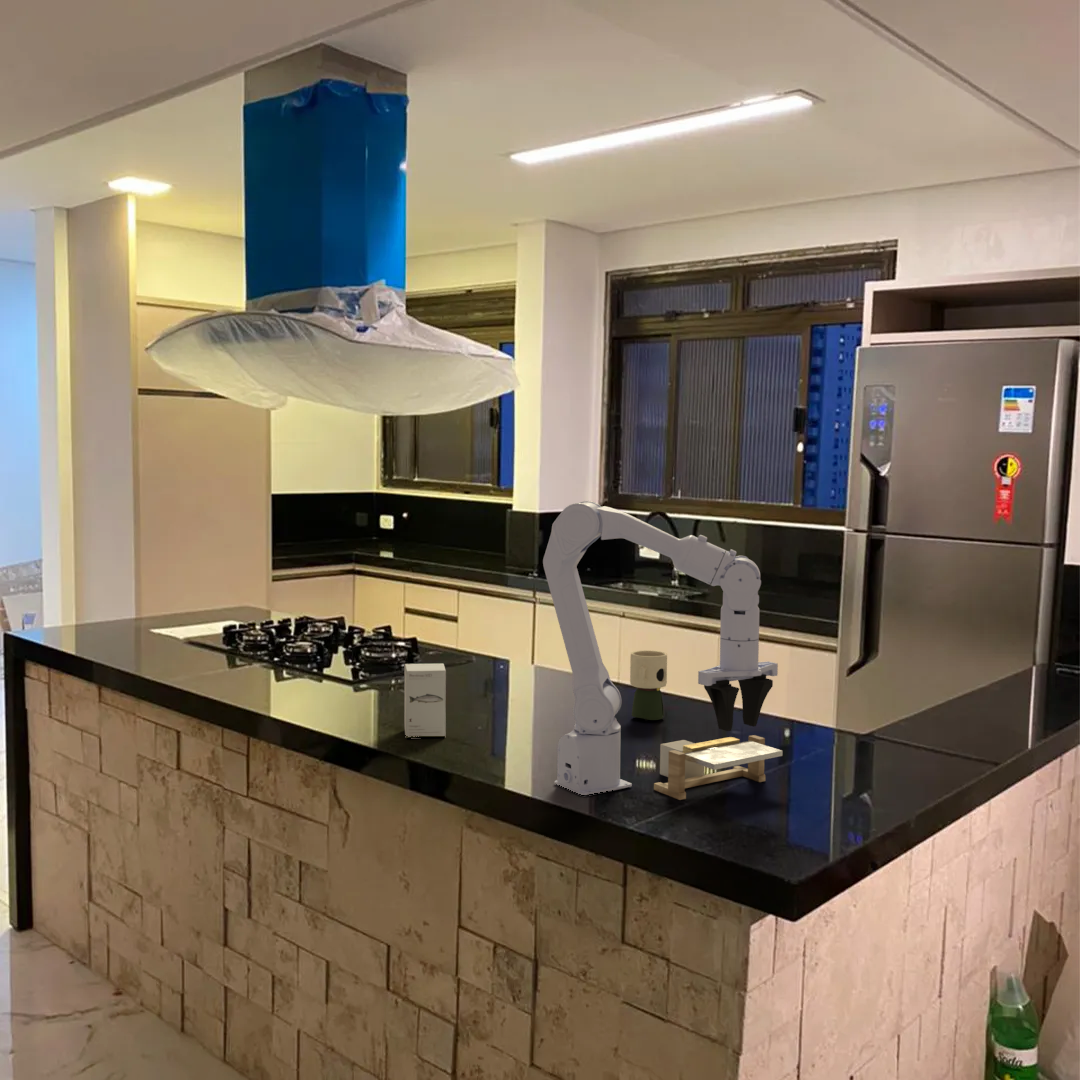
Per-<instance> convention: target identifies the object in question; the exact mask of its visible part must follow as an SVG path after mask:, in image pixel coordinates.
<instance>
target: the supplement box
mask: <svg viewBox="0 0 1080 1080" xmlns="http://www.w3.org/2000/svg"><path fill="white" fill-rule="evenodd" d="M403 669H404V672H403V673H404V686H403V687H404V688H403V689H404V693H403V694H404V710H403V713H404V714H403V715H404V717H403V718H404V720H403V721H404V725H403V726H404V727H403V728H404V735H406V736H408V737H411V736H413V737H415V736H416V737H417V736H418V737H419V736H445V737H446V735H447V734H446V733H447V732H446V730H447V726H446V725H447V723H446V721H447V720H446V719H447V718H446V707H447V706H446V704H447V703H446V701H447V700H446V697H447V695H446V693H447V691H446V689H447V688H446V687H447V686H446V685H447V670H446V666H445V664H444V663H404V668H403ZM406 736H405V737H406Z"/></svg>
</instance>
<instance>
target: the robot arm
mask: <svg viewBox="0 0 1080 1080" xmlns="http://www.w3.org/2000/svg"><path fill="white" fill-rule="evenodd" d="M551 525H552V526H551V532H550V536H549V539H548V543H547V546H546V549H545V553H544V555H543V559H542V564H543V565H542V566H543V570H544V573H545V578H546V580H547V585H548V588H549V593H550V595H551V598H552V603H553V606H554V611H555V614H556V617H557V621H558V625H559V629H560V632H561V636H562V640H563V644H564V646H565V647H564V648H565V651H566V654H567V658H568V662H569V666H570V669H571V672H572V693H573V696H574V703H573V708H572V714H573V715H572V716H573V719H574V721H575V722H574V725H573V729H572V730H571V731H570V732H568V733H566V734H563V735H562V736H560V738H559V740H558V743H557V759H556V763H557V768H556V770H557V772H556V773H557V774H556V775H557V776H556V780H554V784H555V783H556V784H557V786H559V785H560V786H559V787H561V786H562V787H561V788H563V787H564V788H563V789H565V788H567V789H566V790H568V789H569V790H568V791H570V790H571V791H570V792H572V791H573V793H574V792H576V793H578V794H577V795H579V794H581V795H587V794H593V795H595V794H594V793H598V794H601V793H600V792H603V793H607V792H606V791H608V792H612V790H613V791H618V790H622V789H626V788H631V787H633V786H632V785H633V784H632V782H629V781H627V780H624V779H621V740H622V739H621V731H622V730H621V729H622V728H621V724H620V723H619V722H618V721H617V717H616V715H617V714H618V713H619V712H620V710H621V707H622V696H621V692H620V691H619V689H618V688H617V686H616V685H615V684H614V683H613V681H612V680H611V677H610V674H609V671H608V670H607V668H606V666H605V665H604V663H603V659H602V656H601V652H600V648H599V644H598V641H597V637H596V634H595V629H594V627H593V622H592V619H591V614H590V611H589V609H588V608H589V607H588V604H587V600H586V597H585V593H584V588H583V585H582V582H581V578H580V575H579V571H578V570H579V569H578V568H577V566H578V564H579V562H580V561H581V559H582V558H583V556H584V555H585V553H586V552H587V550H588V548H589V547H590V546H591V545H592V544H593V543H595V542H596V541H597V540H598V539H599V538H600V540H601V541H604V540H614V539H616V540H617V539H625V540H626V541H629V542H631V543H634V544H636V545H639V546H641V547H644V548H646V549H648V550H650V551H654V552H656V553H659V554H660V555H663V556H665V557H668V558H670V559H671V561H672V564H673V566H674V569H675V570H676V571H679V572H681V573H683V574H685V575H687V576H689V577H691V578H694V579H696V580H698V581H701V582H703V583H704V584H705V583H706V584H707V585H710V586H711V587H715V586H720V588H721V589H722V591H723V592H722V606H721V608H720V627H719V628H720V635H719V636H720V637H719V641H720V642H719V665H717V666H712V667H709V668H707V669H704V670H699V671H698V672H697V673H698V675H697V677H698V678H697V684H698V685H703V688H704V690H705V691H706V693H707V695H708V697H709V699H710V702H711V705H712V707H713V710H714V713H715V714H714V715H715V717H716V722H717V727H718V729H719V730H722V731H725V732H731V731H732V728H733V724H734V709H735V703H736V701H737V700H736V699H737V696H738V693H739V691H740V694H741V700H742V701H741V703H742V722H743V724H744V725H746V726H750V727H757V725H758V721H759V717H760V714H761V710H762V707H763V704H764V702H765V700H766V698H767V696H768V694H769V692H770V691H771V690H772V688H773V687H774V686H773V683H774V681H773V679H771V678H767V676H771V677H778V675H779V674H778V673H779V672H778V671H779V669H778V667H779V665H778V662H773V661H759V648H760V647H759V646H760V645H759V642H760V608H759V603H760V595H759V590H760V588H761V585H762V580H761V572H760V569H759V567H758V565H757V564H756V563H755V561H753V560H751V559H749V557H748V556H746V555H737V551H736V550H734V549H731V548H730V550H726V549H724V548H721V547H720V546H717V545H716V544H713V543H711V542H708V541H707V540H708V537H707V536H705V535H702V534H699V535H698V537H697V536H695V535H693V534H689V535H687V536H684V537H682V538H678V537H676V536H674V535H672V534H670V533H668V532H666V531H663V530H662V529H660V528H658V527H655V526H654V525H651V524H649V523H647V522H646V521H643V520H642V519H639V518H637V517H635V516H633V515H631V514H629V513H626V512H624V511H621V510H618V509H616V508H613V507H610V506H606V505H604V506H603V505H602V506H601V505H600V504H599V503H597V502H594V501H591V500H584V501H580V502H578V503H572V504H569V505H567V506H565V508H563V510H562V511H561V513H560V514H559V515H558V516H557V517H556V519H555V520H554V521H553V523H552V524H551ZM735 681H737V682H738V684H739V687H737V686H733V685H732V683H730V682H735ZM556 784H555V785H556ZM576 793H575V794H576ZM581 795H580V796H581Z"/></svg>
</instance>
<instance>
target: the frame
mask: <svg viewBox="0 0 1080 1080" xmlns="http://www.w3.org/2000/svg"><path fill="white" fill-rule="evenodd" d="M748 741H753V742H756V743H759V744H763V745H766V738H765V737H763V736H759V735H756V734H754V735H753V734H752V735H748ZM740 777H744V778H746V779H749V780H752V781H755V782H758V783H762V782H766V774H765V760H760V761H755V762H750V763H747V768H746V767H743V766H742V765H741V766H740V765H736V766H732V769H727V770H722V771H718V772H714V773H707V774H704V775H702V776H697V777H693V778H688V779H685V753H682V752H679V751H676V750H672V751H669V760H668V777H667V782H661V781H660V782H659V781H658V782H654V783H653V791H656V792H659V793H661V794H664V795H666V796H669V797H670V798H673V799H676V800H678V801H681V800H686V799H687V792H686V791H685V790H686V789H688V788H689V789H690V788H693V787H697V786H703V785H706V784H712V783H717V782H721V781H725V780H731V779H735V778H740Z"/></svg>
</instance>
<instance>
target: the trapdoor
mask: <svg viewBox="0 0 1080 1080" xmlns="http://www.w3.org/2000/svg"><path fill="white" fill-rule="evenodd" d="M740 741H741V740H740V738H736V737H734V736H733V737H732V736H729V737H723V738H718V739H713V740H711V739H710V740H708V741H707V740H706V741H702V742H701V741H700V742H696V743H695V742H694V743H695V744H689V745H684V746H683V753H685V760H688V761H691V762H693V763H696V764H699V765H702V766H704V768H705V767H706V768H708V769H710V770H713V771H715V770H716V771H717V770H720V769H721V770H722V769H726V768H731V767H735V766H740V765H745V764H748V763H750V762H755V761H760V760H764V761H765V760H768V759H774V758H778V757H783V750H782V749H779V748H775V747H772V746H769V745H766V744H765V745H763V744H759V743H756V742H753V741H747V740H746V741H742V742H740Z"/></svg>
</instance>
